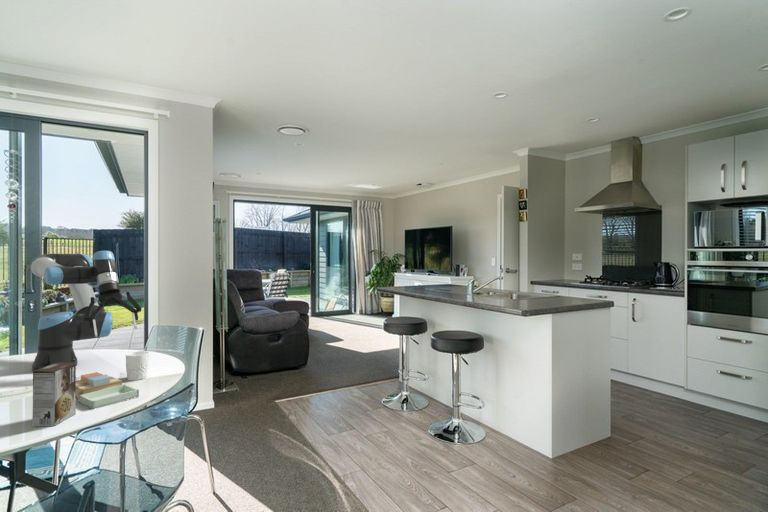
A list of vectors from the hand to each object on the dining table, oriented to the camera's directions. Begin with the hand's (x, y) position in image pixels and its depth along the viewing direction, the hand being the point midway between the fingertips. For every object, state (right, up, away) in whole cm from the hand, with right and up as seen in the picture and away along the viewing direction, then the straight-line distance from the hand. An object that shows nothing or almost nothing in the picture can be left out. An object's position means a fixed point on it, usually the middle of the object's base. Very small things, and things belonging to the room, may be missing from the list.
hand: (116, 331), depth 166 cm
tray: (+17, -18, -29) cm, 38 cm away
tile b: (+10, -14, -24) cm, 29 cm away
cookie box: (+12, -18, -46) cm, 51 cm away
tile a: (+5, -14, -21) cm, 25 cm away
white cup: (+11, -18, -5) cm, 22 cm away
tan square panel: (+7, -18, -22) cm, 29 cm away
